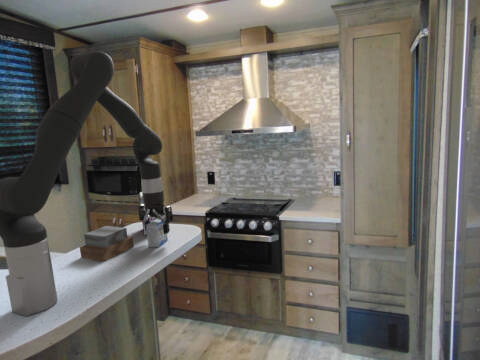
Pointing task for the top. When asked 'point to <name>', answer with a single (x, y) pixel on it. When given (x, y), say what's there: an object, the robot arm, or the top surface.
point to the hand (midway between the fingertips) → (157, 232)
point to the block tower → (106, 243)
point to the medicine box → (156, 233)
